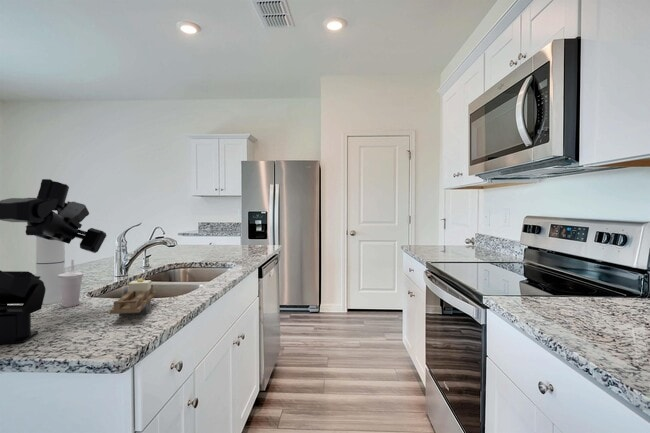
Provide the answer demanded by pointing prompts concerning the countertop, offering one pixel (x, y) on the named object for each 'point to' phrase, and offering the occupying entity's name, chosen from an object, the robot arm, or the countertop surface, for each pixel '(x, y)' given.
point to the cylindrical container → (50, 267)
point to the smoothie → (70, 286)
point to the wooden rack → (134, 303)
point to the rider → (139, 286)
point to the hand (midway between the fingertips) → (85, 242)
